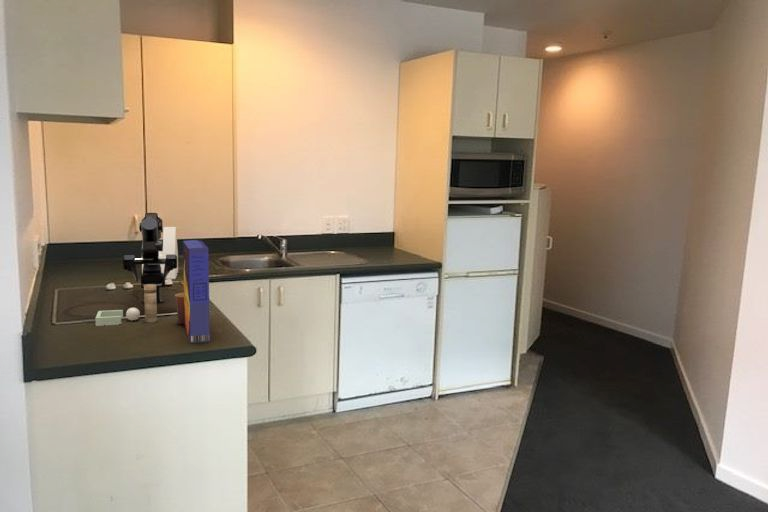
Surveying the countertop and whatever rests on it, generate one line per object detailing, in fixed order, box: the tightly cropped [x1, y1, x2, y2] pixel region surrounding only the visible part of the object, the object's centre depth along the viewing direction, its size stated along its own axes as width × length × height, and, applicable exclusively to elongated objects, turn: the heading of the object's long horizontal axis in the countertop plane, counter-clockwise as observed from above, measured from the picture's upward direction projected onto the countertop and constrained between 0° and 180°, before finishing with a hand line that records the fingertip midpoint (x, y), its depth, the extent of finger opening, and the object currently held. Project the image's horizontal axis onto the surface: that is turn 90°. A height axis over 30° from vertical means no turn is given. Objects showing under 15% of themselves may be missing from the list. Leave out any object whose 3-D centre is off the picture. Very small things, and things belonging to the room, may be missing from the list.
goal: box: [95, 309, 124, 327], centre depth 214 cm, size 11×8×3 cm
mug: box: [174, 292, 185, 326], centre depth 215 cm, size 12×9×10 cm
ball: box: [125, 307, 141, 322], centre depth 216 cm, size 5×5×5 cm
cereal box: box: [182, 239, 211, 344], centre depth 199 cm, size 22×6×30 cm, turn 22°
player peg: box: [143, 284, 158, 323], centre depth 215 cm, size 4×4×13 cm
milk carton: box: [141, 226, 179, 280], centre depth 308 cm, size 19×15×25 cm
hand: (150, 280), depth 222 cm, fingers open, 9 cm apart
